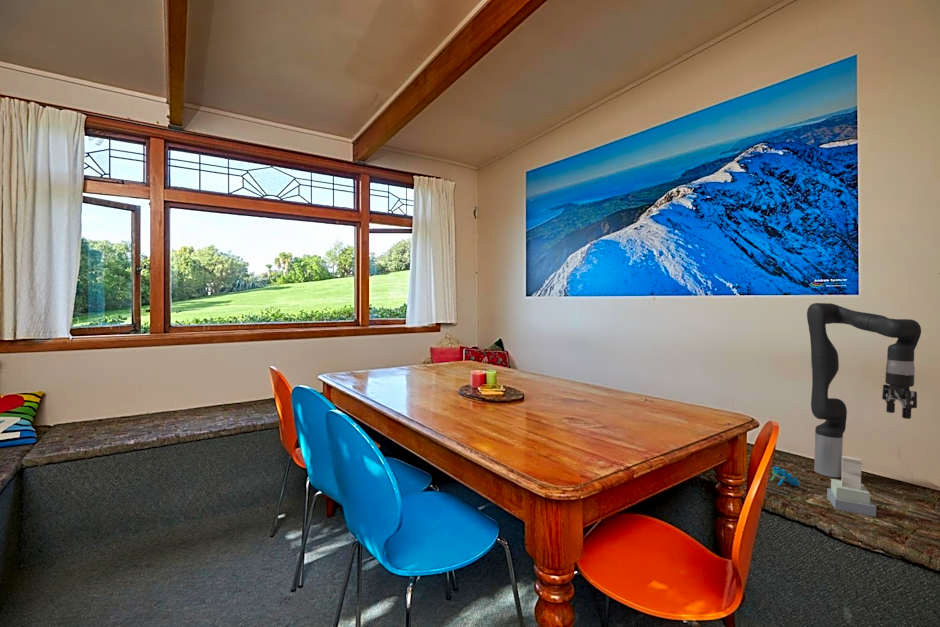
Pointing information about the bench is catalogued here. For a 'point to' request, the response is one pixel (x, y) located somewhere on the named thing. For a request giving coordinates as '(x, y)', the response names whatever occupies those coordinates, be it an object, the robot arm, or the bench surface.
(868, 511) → the tower base
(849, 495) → the tower top
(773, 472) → the blue toy dinosaur
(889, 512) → the bench surface
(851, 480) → the cream block
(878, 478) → the bench surface
